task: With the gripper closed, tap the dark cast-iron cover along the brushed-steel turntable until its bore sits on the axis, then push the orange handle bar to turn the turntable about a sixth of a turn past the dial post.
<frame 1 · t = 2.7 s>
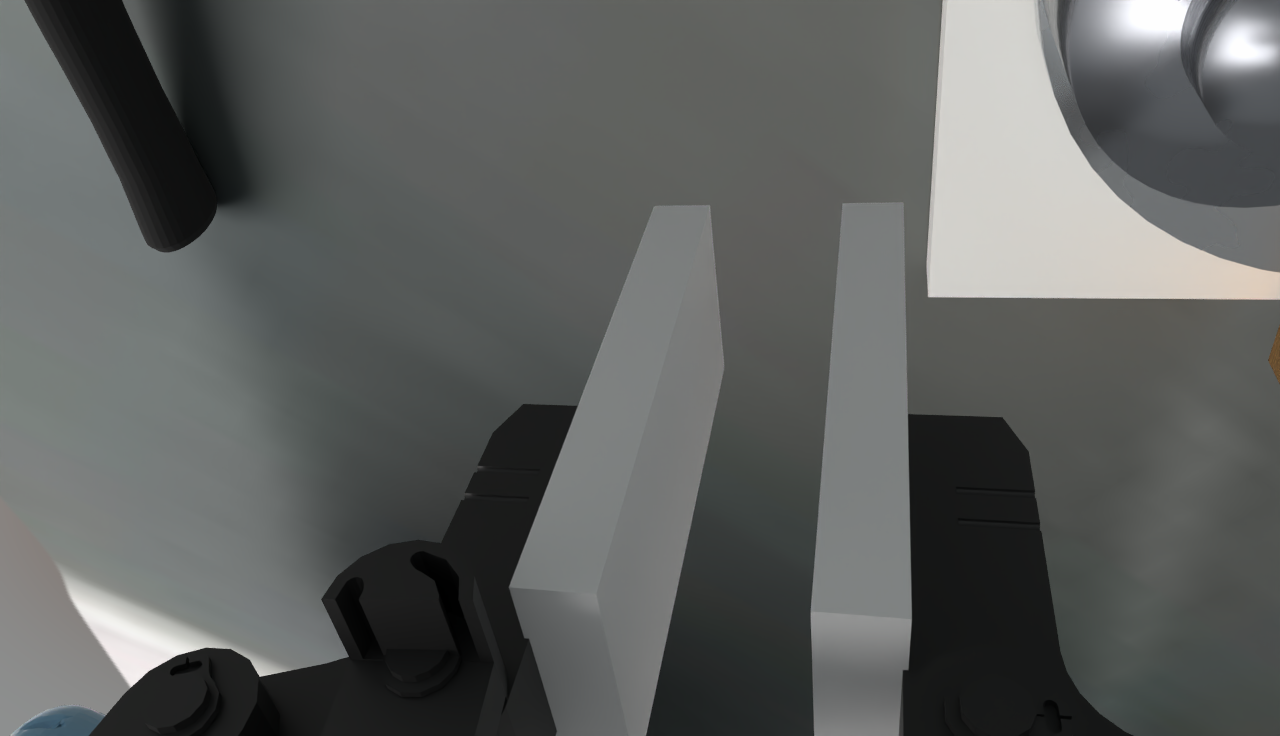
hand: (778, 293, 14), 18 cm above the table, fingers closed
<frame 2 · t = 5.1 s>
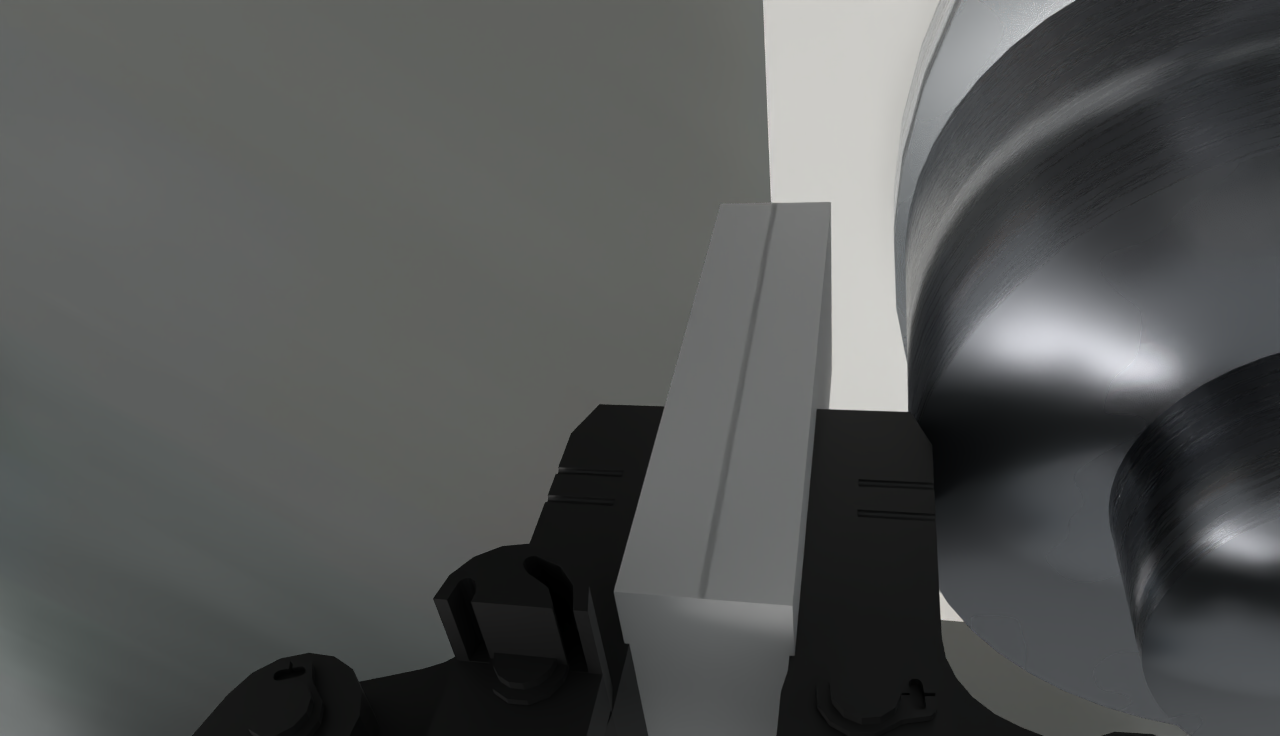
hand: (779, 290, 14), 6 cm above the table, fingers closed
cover: (1207, 241, 13), point 4 cm above the table, touching gripper, turntable
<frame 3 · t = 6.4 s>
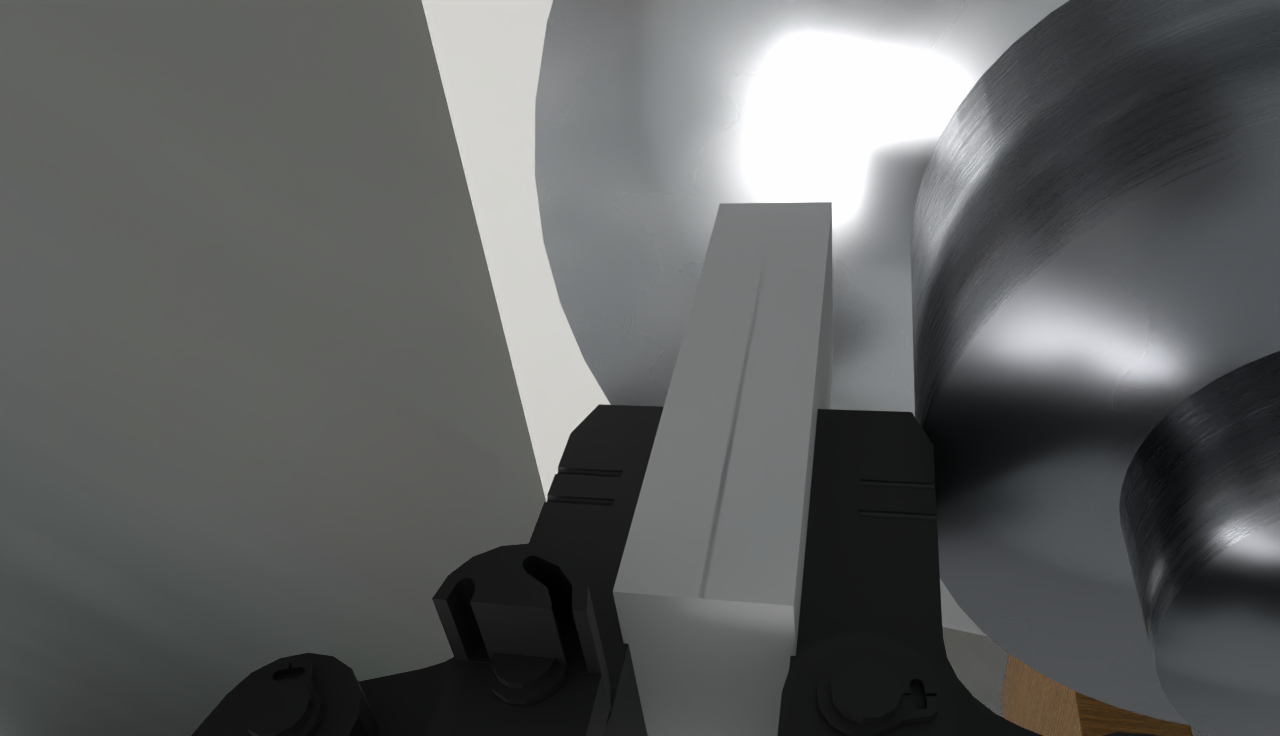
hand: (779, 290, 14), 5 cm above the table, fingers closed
turntable: (1161, 430, 13), point 6 cm above the table, hinge at -0.1°, touching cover
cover: (1215, 235, 13), point 4 cm above the table, touching gripper, turntable
turntable base: (1114, 120, 17), on the table
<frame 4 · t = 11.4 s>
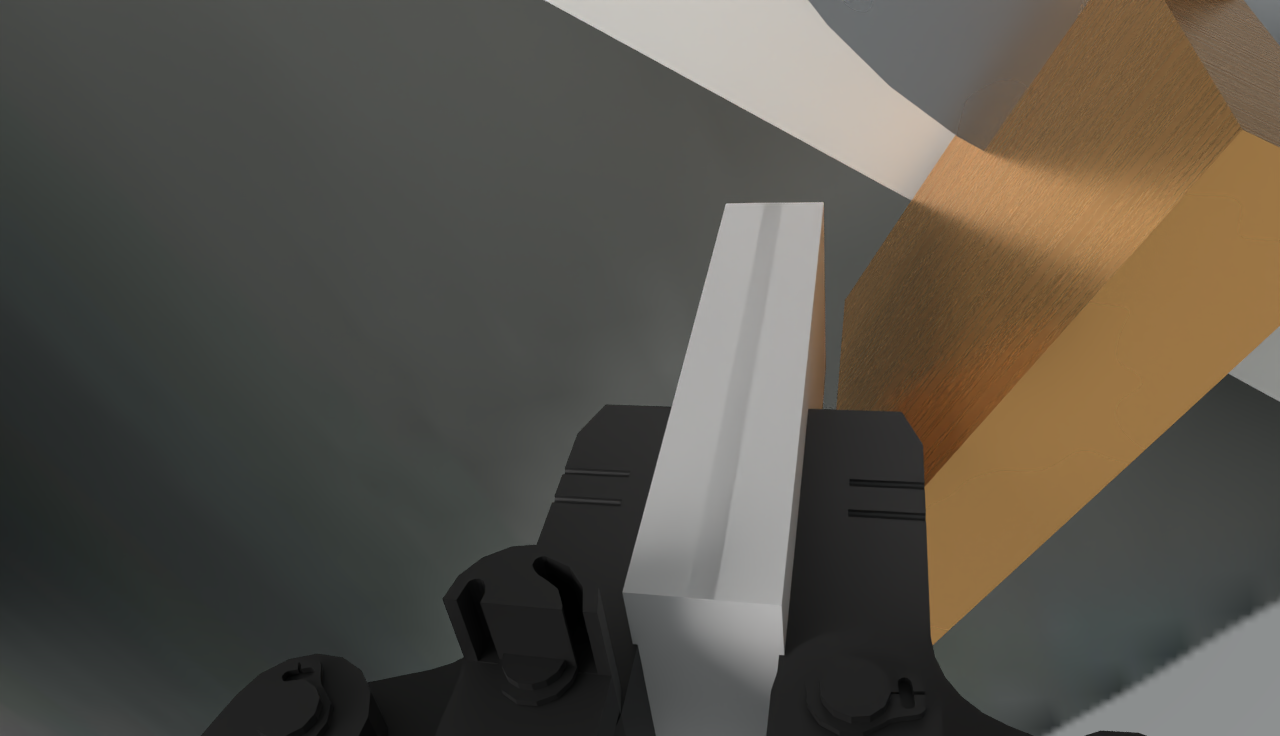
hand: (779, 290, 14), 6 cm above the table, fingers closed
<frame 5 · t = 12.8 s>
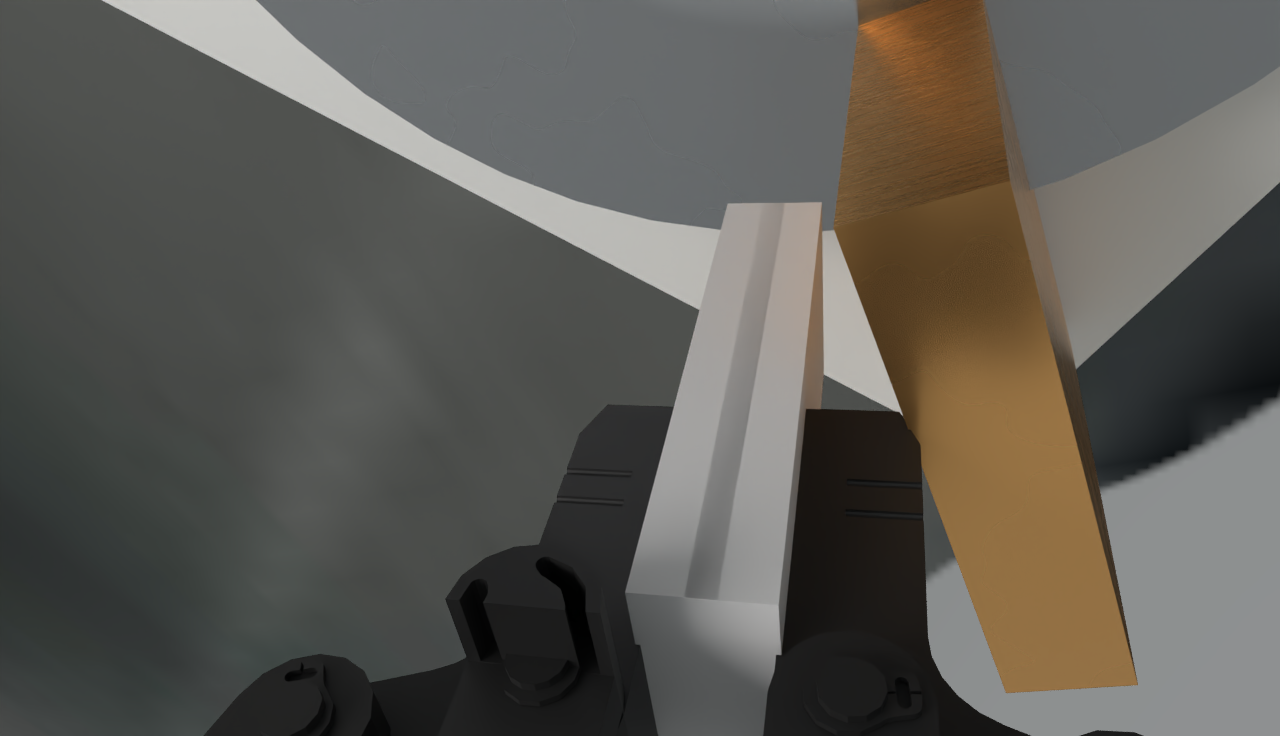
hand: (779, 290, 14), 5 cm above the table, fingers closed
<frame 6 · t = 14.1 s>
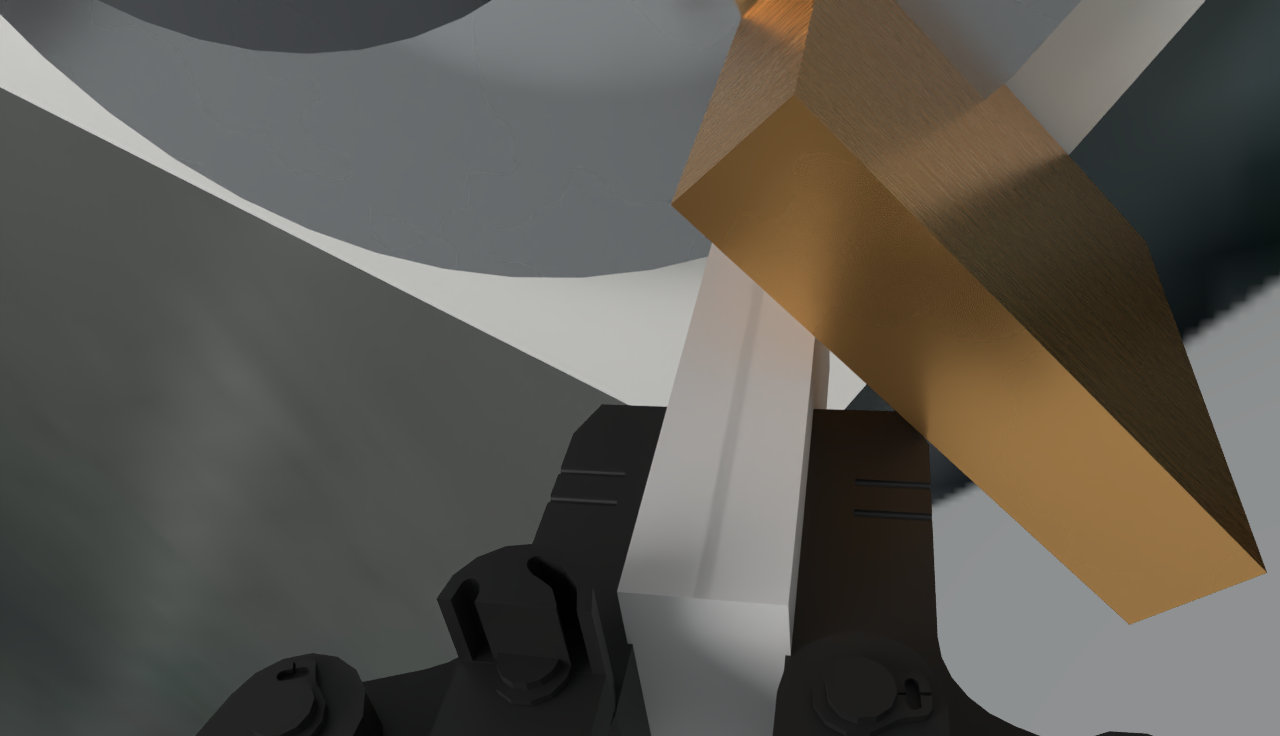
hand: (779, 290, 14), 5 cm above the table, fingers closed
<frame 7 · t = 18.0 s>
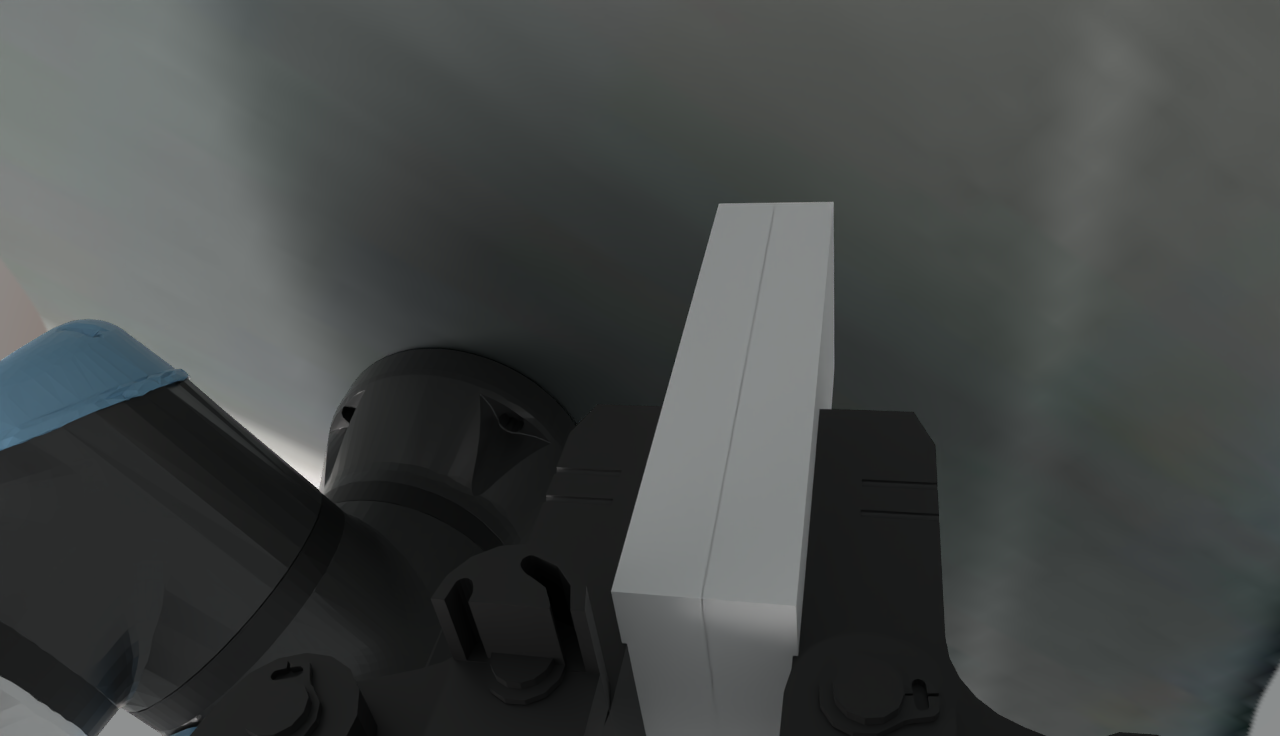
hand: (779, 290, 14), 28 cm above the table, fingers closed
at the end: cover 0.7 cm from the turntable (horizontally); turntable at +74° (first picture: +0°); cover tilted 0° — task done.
